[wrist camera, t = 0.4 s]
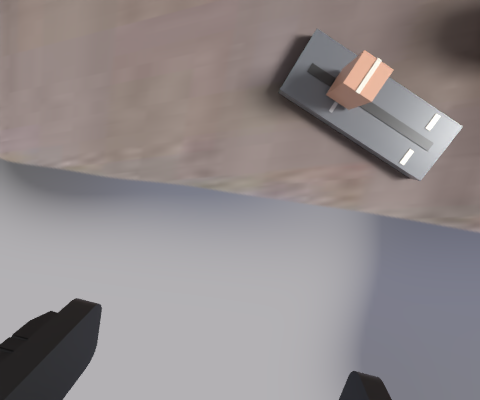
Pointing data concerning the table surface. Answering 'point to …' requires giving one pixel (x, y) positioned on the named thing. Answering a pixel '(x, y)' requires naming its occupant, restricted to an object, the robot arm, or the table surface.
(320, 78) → the fader console
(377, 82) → the fader knob
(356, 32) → the table surface
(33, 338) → the robot arm
